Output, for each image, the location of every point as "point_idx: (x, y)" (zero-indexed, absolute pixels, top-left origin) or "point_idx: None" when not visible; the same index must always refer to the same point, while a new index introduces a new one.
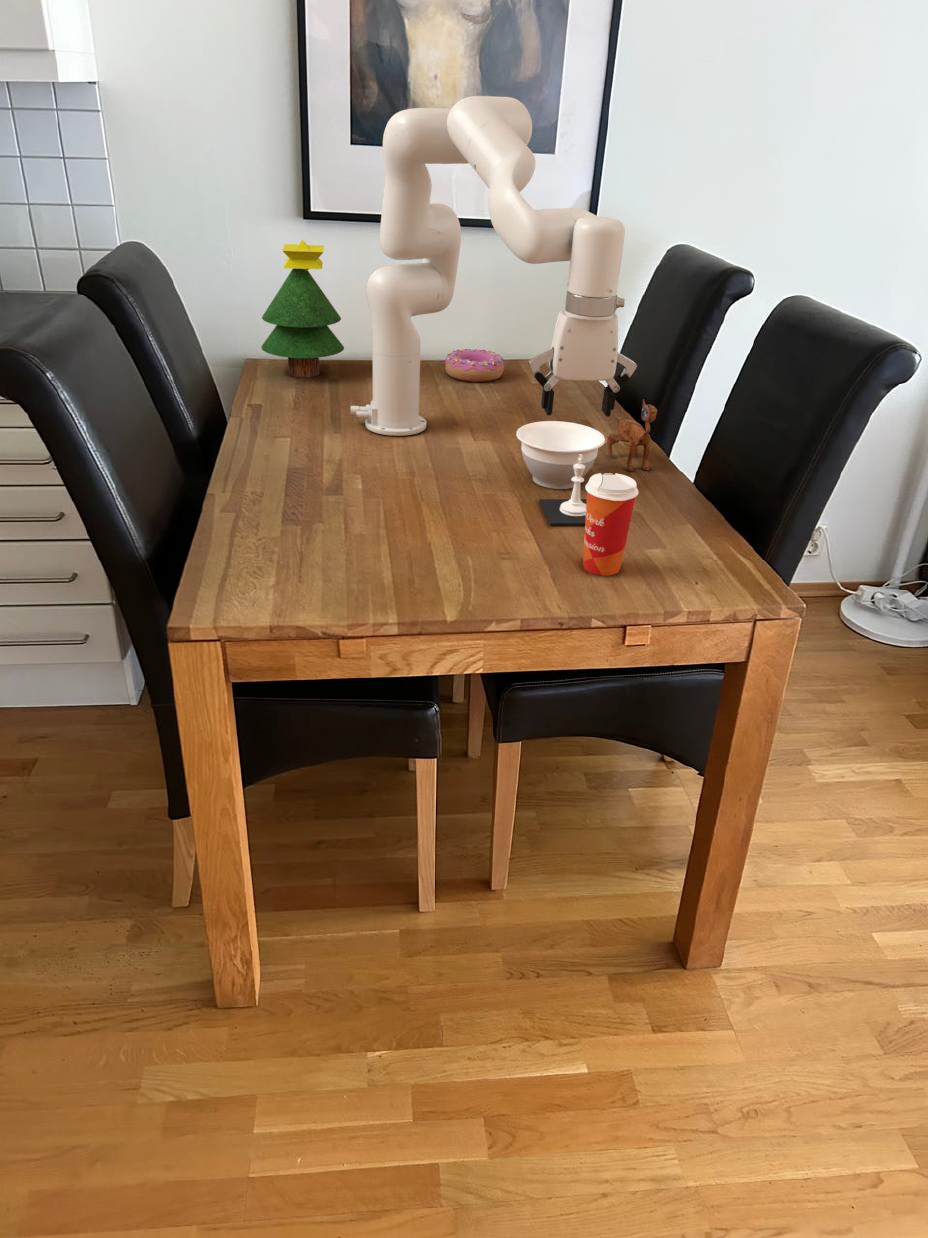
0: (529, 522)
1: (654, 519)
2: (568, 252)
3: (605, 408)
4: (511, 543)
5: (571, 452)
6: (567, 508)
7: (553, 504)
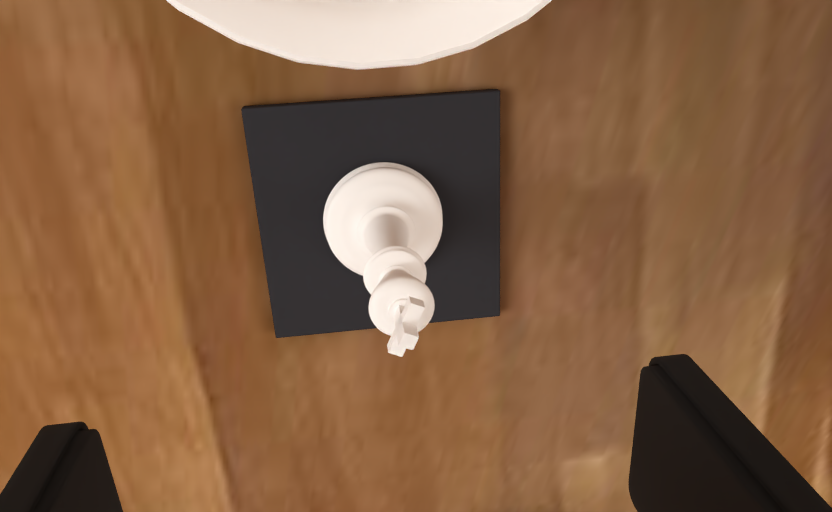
0: (196, 308)
1: (680, 245)
2: None
3: (655, 504)
4: (134, 464)
5: (393, 66)
6: (349, 259)
7: (301, 163)
